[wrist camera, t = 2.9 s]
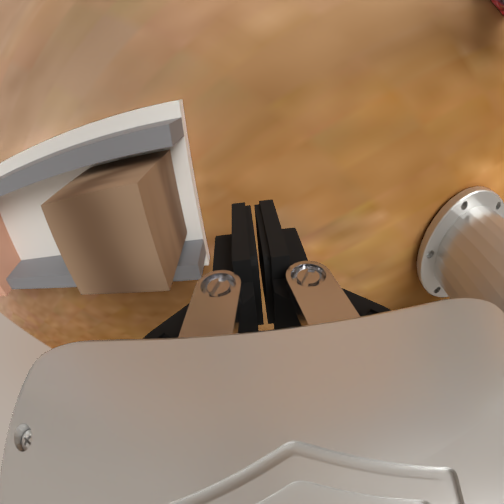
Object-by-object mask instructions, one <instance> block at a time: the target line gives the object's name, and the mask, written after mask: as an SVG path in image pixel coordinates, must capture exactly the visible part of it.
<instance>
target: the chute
mask: <svg viewBox="0 0 504 504" xmlns="http://www.w3.org/2000/svg"><path fill="white" fill-rule="evenodd" d="M165 150H170V152H171V157H172V162H173V168H174V173H175V178H176V183H177V188H178V192H179V197H180V202H181V206H182V211H183V215H184V220H185V224H186V229H187V236H186V239H185V242H184V245H183V248H182V251H181V255H180V258H179V261H178V265H177V268H176V271H175V275H174V278H173V281H186V280H199V279H200V278H201V277H202V274H203V268H204V265H209V260H210V255H209V250H208V245H207V240H206V236H205V230H204V225H203V220H202V215H201V210H200V205H199V199H198V194H197V188H196V183H195V177H194V171H193V165H192V159H191V153H190V147H189V141H188V135H187V128H186V121H185V115H184V108H183V101H182V99H181V100H176V101H171V102H166V103H162V104H157V105H153V106H148V107H144V108H140V109H136V110H133V111H129V112H125V113H122V114H118V115H115V116H111V117H108V118H105V119H102V120H99V121H96V122H93V123H90V124H87V125H84V126H81V127H78V128H76V129H73V130H70V131H68V132H65V133H63V134H60V135H58V136H55V137H53V138H51V139H48V140H46V141H44V142H41V143H39V144H37V145H35V146H33V147H31V148H28V149H26V150H24V151H22V152H20V153H18V154H16V155H14V156H12V157H11V158H9V159H7V160H5V161H3V162H1V163H0V296H7V295H8V294H9V292H10V291H11V289H35V288H63V287H77V286H76V284H75V282H74V280H73V278H72V276H71V274H70V272H69V270H68V268H67V266H66V264H65V262H64V260H63V258H62V256H61V254H60V252H59V249H58V247H57V245H56V243H55V240H54V238H53V236H52V233H51V231H50V229H49V226H48V224H47V221H46V218H45V216H44V213H43V211H42V208H41V205H42V204H43V203H44V202H45V201H47V200H48V199H49V198H50V197H51V196H53V195H54V194H55V193H56V192H58V191H59V190H60V189H62V188H63V187H64V186H65V185H67V184H68V183H69V182H71V181H72V180H73V179H75V178H76V177H77V176H79V175H80V174H82V173H83V172H84V171H86V170H87V169H89V168H90V167H94V166H97V165H101V164H105V163H109V162H113V161H117V160H121V159H126V158H130V157H135V156H139V155H144V154H149V153H154V152H159V151H165Z"/></svg>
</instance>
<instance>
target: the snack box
mask: <svg viewBox="0 0 504 504" xmlns="http://www.w3.org/2000/svg"><path fill="white" fill-rule="evenodd" d="M491 1H492V2H493V4H494V5H495V6H496V7H497V8H498V10H499V11H500V12H501V13H502V14H503V16H504V0H491Z"/></svg>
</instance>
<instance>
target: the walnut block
mask: <svg viewBox="0 0 504 504" xmlns="http://www.w3.org/2000/svg"><path fill="white" fill-rule="evenodd" d="M41 208H42V211H43V213H44V216H45V218H46V221H47V224H48V226H49V229H50V231H51V233H52V236H53V238H54V240H55V243H56V245H57V247H58V249H59V252H60V254H61V256H62V258H63V260H64V262H65V264H66V266H67V268H68V270H69V272H70V274H71V276H72V278H73V280H74V282H75V284H76V286H77V288H78V290H79V291H80V293H81V295H82V294H112V293H135V292H154V291H170V289H171V285H172V282H173V278H174V275H175V271H176V268H177V265H178V261H179V258H180V255H181V251H182V248H183V245H184V242H185V239H186V236H187V229H186V224H185V220H184V215H183V211H182V206H181V202H180V197H179V192H178V188H177V183H176V178H175V173H174V168H173V162H172V157H171V152H170V150H165V151H159V152H154V153H149V154H144V155H139V156H135V157H130V158H126V159H121V160H117V161H113V162H109V163H105V164H101V165H97V166H94V167H90V168H89V169H87V170H86V171H84V172H83V173H82V174H80V175H79V176H77V177H76V178H75V179H73V180H72V181H71V182H69V183H68V184H67V185H65V186H64V187H63V188H62V189H60V190H59V191H58V192H56V193H55V194H54V195H53V196H51V197H50V198H49V199H48V200H47V201H45V202H44V203H43V204H42V205H41Z"/></svg>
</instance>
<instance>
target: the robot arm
mask: <svg viewBox="0 0 504 504" xmlns="http://www.w3.org/2000/svg"><path fill="white" fill-rule="evenodd" d="M255 217H256V228H257V239H258V250H259V261H260V269H261V276H262V283H263V290H264V297H265V304H266V312H267V319H268V324H271V323H274V329H275V330H266V331H258V325H263V324H264V323H263V312H262V300H261V289H260V278H259V267H258V258H257V250H256V243H255V235H254V228H253V221H252V214H251V206H250V205H249V206H245V203H236V204H232V234H230V235H221V236H216V238H215V249H214V261H213V272H209V273H207V274H205V275H204V276H202V277H201V278H200V279H199V280H198V282H197V284H196V286H195V289H194V292H193V295H192V298H191V301H190V303H189V304H188V305H187V306H185V307H184V308H182V309H181V310H180V311H178V312H177V313H176V314H174V315H173V316H172V317H170V318H169V319H168V320H166V321H165V322H163V323H162V324H161V325H159V326H158V327H157V328H155V329H154V330H152V331H151V332H150V333H148V334H147V335H146V336H145V337H144V338H143V339H116V340H88V341H78V342H73V343H69V344H64V345H62V346H59V347H56V348H53V349H51V350H49V351H47V352H45V353H44V354H42V355H41V356H40V357H39V358H38V359H37V360H36V361H35V363H34V364H33V366H32V367H31V369H30V371H29V373H28V375H27V377H26V379H25V381H24V383H23V385H22V388H21V391H20V393H19V396H18V399H17V402H16V405H15V408H14V411H13V414H12V418H11V421H10V425H9V430H8V434H7V438H6V443H5V448H4V454H3V460H2V466H1V476H0V504H504V203H503V201H502V199H501V198H500V197H499V195H497V194H496V193H495V192H493V191H492V190H491V189H488V188H486V187H481V186H475V187H471V188H468V189H466V190H463V191H461V192H459V193H458V194H457V195H455V196H454V197H453V198H451V199H450V200H449V201H448V202H447V203H446V204H445V205H444V206H443V207H442V208H441V210H440V211H439V212H438V213H437V215H436V216H435V217H434V219H433V220H432V222H431V224H430V225H429V227H428V229H427V231H426V233H425V235H424V237H423V240H422V242H421V245H420V249H419V252H418V258H417V274H418V277H419V280H420V282H421V283H422V285H423V287H424V288H425V289H426V291H427V292H428V293H430V294H431V295H433V296H437V297H449V298H450V299H444V300H439V301H435V302H430V303H425V304H420V305H415V306H411V307H406V308H402V309H397V310H392V311H391V310H390V309H388V308H386V307H384V306H382V305H380V304H377V303H375V302H373V301H370V300H368V299H366V298H363V297H361V296H359V295H357V294H354V293H352V292H350V291H347V290H345V289H343V288H341V287H340V285H339V284H338V282H337V281H336V279H335V278H334V276H333V275H332V273H331V272H330V270H329V269H328V268H327V267H326V266H324V265H323V264H321V263H318V262H315V261H308V260H307V257H306V254H305V252H304V249H303V246H302V244H301V241H300V238H299V236H298V233H297V231H296V229H295V228H287V229H281V225H280V222H279V219H278V216H277V212H276V209H275V206H274V203H273V200H264V201H259V205H255Z"/></svg>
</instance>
